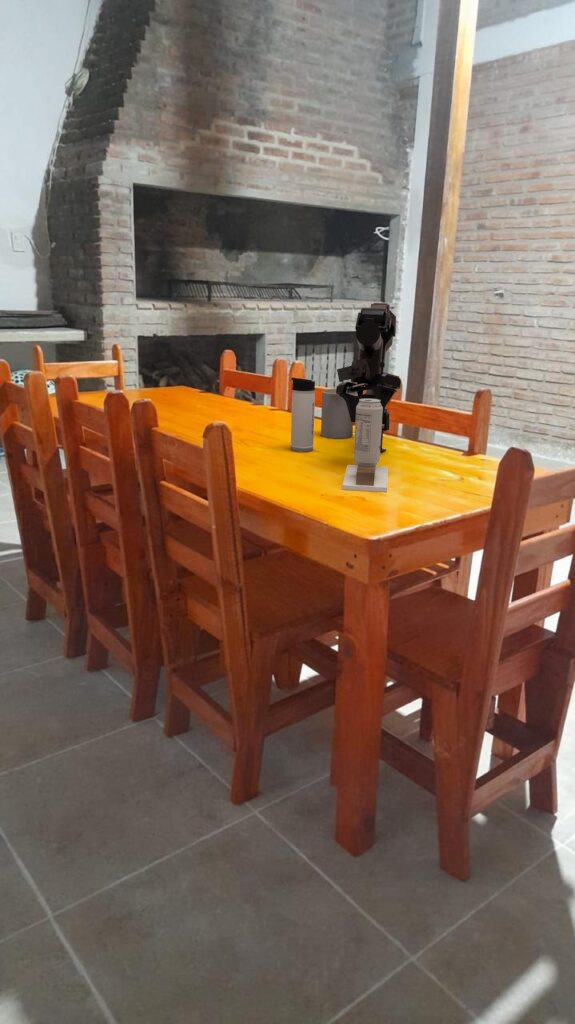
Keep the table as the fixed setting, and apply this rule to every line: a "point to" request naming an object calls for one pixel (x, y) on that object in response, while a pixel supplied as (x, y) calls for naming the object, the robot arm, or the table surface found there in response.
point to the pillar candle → (335, 416)
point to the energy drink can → (368, 432)
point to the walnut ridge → (365, 475)
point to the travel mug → (302, 415)
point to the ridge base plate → (379, 485)
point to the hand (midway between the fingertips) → (364, 420)
